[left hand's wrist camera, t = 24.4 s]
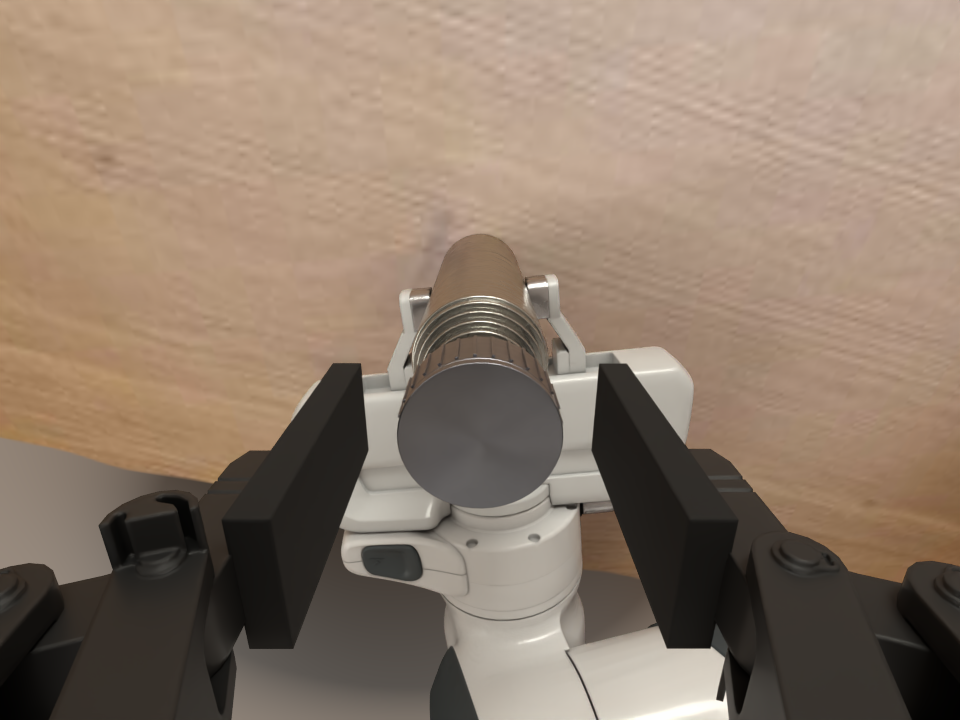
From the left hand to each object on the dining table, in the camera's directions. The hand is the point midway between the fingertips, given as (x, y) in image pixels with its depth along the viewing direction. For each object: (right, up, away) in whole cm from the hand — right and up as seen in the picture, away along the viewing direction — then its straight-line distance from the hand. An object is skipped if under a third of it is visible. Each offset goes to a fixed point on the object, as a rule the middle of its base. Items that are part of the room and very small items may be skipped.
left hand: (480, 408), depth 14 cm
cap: (0, -1, -1) cm, 1 cm away
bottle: (0, +7, +17) cm, 18 cm away
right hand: (0, +5, +11) cm, 12 cm away
